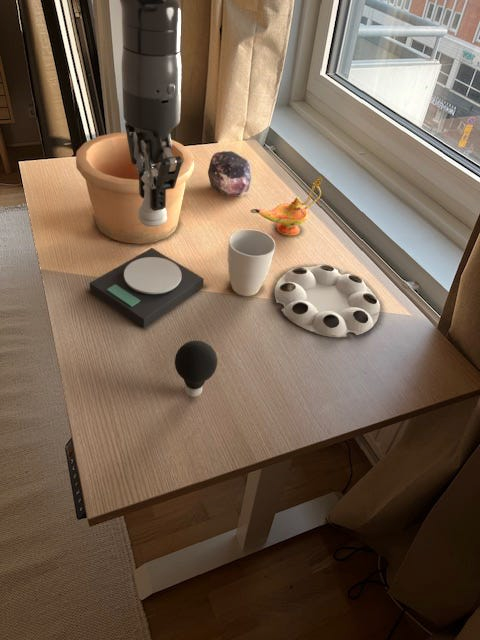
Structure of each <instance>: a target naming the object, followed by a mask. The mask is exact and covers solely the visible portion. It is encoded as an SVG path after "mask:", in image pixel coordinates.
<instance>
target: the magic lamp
mask: <svg viewBox="0 0 480 640" xmlns="http://www.w3.org/2000/svg"><path fill="white" fill-rule="evenodd" d="M322 182H323V177H322V176H321V177H318V178H316V179H314V181H313V183H312V186H311V189H310V193H309V195H308V197H307V199H306V200H305V201H304V202H302V201H300V197H299V196H298V197H295V199H294V200H293V201H291V202H290V203H289V202H286V203H281V204H279V205H277V206H276V207H274V208H272V209H270V210H266V209H262V208H252V209H250V213H252V214H258V215H260V216H261V217H263V218H264V219H266V220H268V221H270V222H272V223H276V227H275V228H276V230H277V232H279V233H280V234H282V235H285V236H296V235H298V234H299V233H300V228H299V226H300V225H302V224H303V223H305V222H306V221H307V219H308V215H309V212H308V211H307V210H308V209H309V208H310V207H311V206H312V205H314V203H315V202H317V201H318V200H319V199H320V197H321V196H322V190H321V188H320V186H319V185H321V184H322ZM316 188H317V190H318V191H319V194H318V196H317V197H316V198H315V199H314V200H313V201H312V202H310V200H311V199H312V196H313V194H314V191H315V189H316ZM309 202H310V203H309ZM308 203H309V204H308ZM307 204H308V205H307ZM303 206H305V207H303Z"/></svg>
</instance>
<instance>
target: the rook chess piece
mask: <svg viewBox="0 0 480 640" xmlns="http://www.w3.org/2000/svg"><path fill="white" fill-rule="evenodd" d="M157 176H158V173H156V180H157ZM141 179H142V181H143V182H144V184H145V185H144V186H143V189H144V192H145V194H144V201H143V203H142V204H141V207H140V208H139V215H138V219H139V220H140V221H141V223H142V224H144V225H146V226H150V227H156V226H160V225H162V224H164V222H165V221H166V220H167V216H166V215H167V211H166V209H165V208H164V209H161V210H157V211H153V210H152V209H151V208H150V187H151V186H150V178H149V173H148V172H147V171H146V170H145V171H144V175H143V176H142V177H141Z"/></svg>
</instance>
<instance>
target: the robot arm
mask: <svg viewBox="0 0 480 640" xmlns="http://www.w3.org/2000/svg"><path fill="white" fill-rule="evenodd" d="M119 3H120V7H121V30H122V31H121V32H122V33H121V35H122V36H121V37H122V56H121V85H122V86H121V88H122V110H123V112H122V113H123V114H122V115H123V119H124V121H125V122H124V127H125V128H124V129H125V132H126V133H127V139H128V145H129V150H130V156H131V162H132V164H133V165H135V164H136V171H137V173H138V174H139V195H140V196H141V197H142V198H144V194H145V192H144V189H143V186H144V185H145V184H144V182H143V181H142V179H141V177H142V176H143V175H144V171H145V170H146V171H147V172H148V173H149V178H150V186H151V187H150V208H151V209H152V210H153V211H157V210H161V209H164V208H165V206H166V190H167V189H174V188H175V184H176V181H177V178H178V174H179V171H180V168H181V164H182V160H181V157H180V156H177V157H174V156H173V154H172V152H171V148H172V143H171V140H172V139H171V138H172V137H171V132H172V130H174V129H175V128H176V127H177V126H178V125H179V124H180V122H181V109H182V108H181V105H182V75H183V74H182V73H183V71H182V70H183V69H182V68H183V67H182V57H181V41H182V39H181V38H182V7H181V2H180V1H179V0H119ZM157 163H159V165H155V164H157ZM156 173H158V176H157V180H156Z"/></svg>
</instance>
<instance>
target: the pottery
mask: <svg viewBox="0 0 480 640" xmlns="http://www.w3.org/2000/svg"><path fill="white" fill-rule="evenodd" d="M171 143H172V148H171V152H172V154H173V156H174V157H177V156H180V157H181V160H182V164H181V168H180V171H179V174H178V178H177V181H176V184H175V188H174V189H167V190H166V206H165V209H166V211H167V215H166V216H167V220H166V221H165V222H164V224H162V225H160V226H156V227H150V226H146V225H144V224H142V223H141V221H140V220H139V219H138V215H139V208H140V207H141V204H142V203H143V201H144V198H142V197H141V196H140V195H139V174H138V173H137V171H136V164H135V165H133V164H132V162H131V156H130V150H129V145H128V139H127V133H126V131H124V132H112V133H107V134H102V135H98V136H95V137H93V138H92V139H90V140H87V141H86V142H84V143H83V144H82V145H81V146H79V148H78V149H77V150H76V152H75V153H76V154H75V165H76V166H75V167H76V170H77V171H78V172H79V173H80V175H81V176H82V177H83V178H84V180H85V183H86V184H85V185H86V188H87V192H88V196H89V199H90V204H91V208H92V211H93V214H94V219H95V224H96V227H97V228H98V229H99V231H100V232H101V233H102V234H104V235H106V236H107V237H108V238H111V239H112V240H115V241H118V242H122V243H124V244H135V245H136V244H137V245H138V244H139V245H141V244H142V245H143V244H151V243H155V242H158V241H161V240H164V239H166V238H168V237H169V236H171V234H173V233H174V232H175V231H176V229H177V227H178V225H179V219H180V213H181V210H182V209H181V208H182V204H183V199H184V193H185V189H186V183H187V181H188V180H190V178H191V176H192V173H193V172H194V169H195V162H194V157H193V154H192V152H191V151H190V150H189V149H188V148H186V146H184V145H183V144H182V143H180V142H178V141H175V140H174V139H171ZM155 165H159V163H157V164H155Z"/></svg>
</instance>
